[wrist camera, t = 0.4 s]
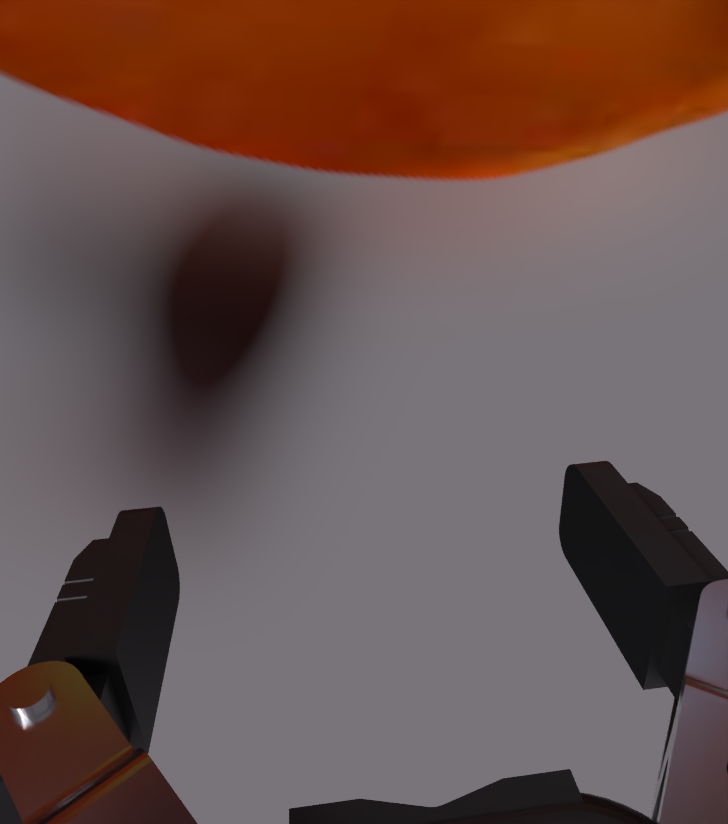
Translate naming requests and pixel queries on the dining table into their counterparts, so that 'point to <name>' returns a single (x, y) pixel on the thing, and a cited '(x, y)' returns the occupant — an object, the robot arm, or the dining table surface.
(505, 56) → the dining table surface
